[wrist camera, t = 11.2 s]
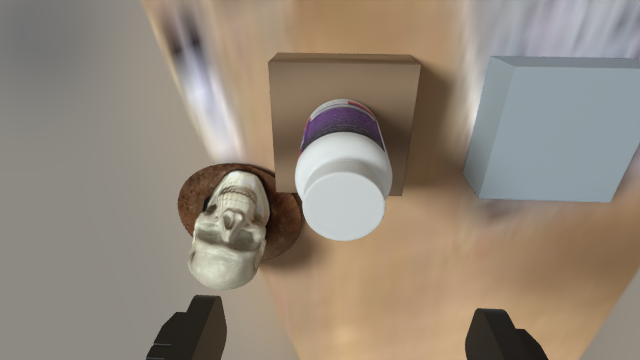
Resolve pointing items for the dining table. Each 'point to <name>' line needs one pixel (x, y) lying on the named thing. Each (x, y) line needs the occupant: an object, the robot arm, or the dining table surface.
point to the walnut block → (341, 83)
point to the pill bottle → (343, 171)
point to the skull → (235, 223)
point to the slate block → (554, 128)
